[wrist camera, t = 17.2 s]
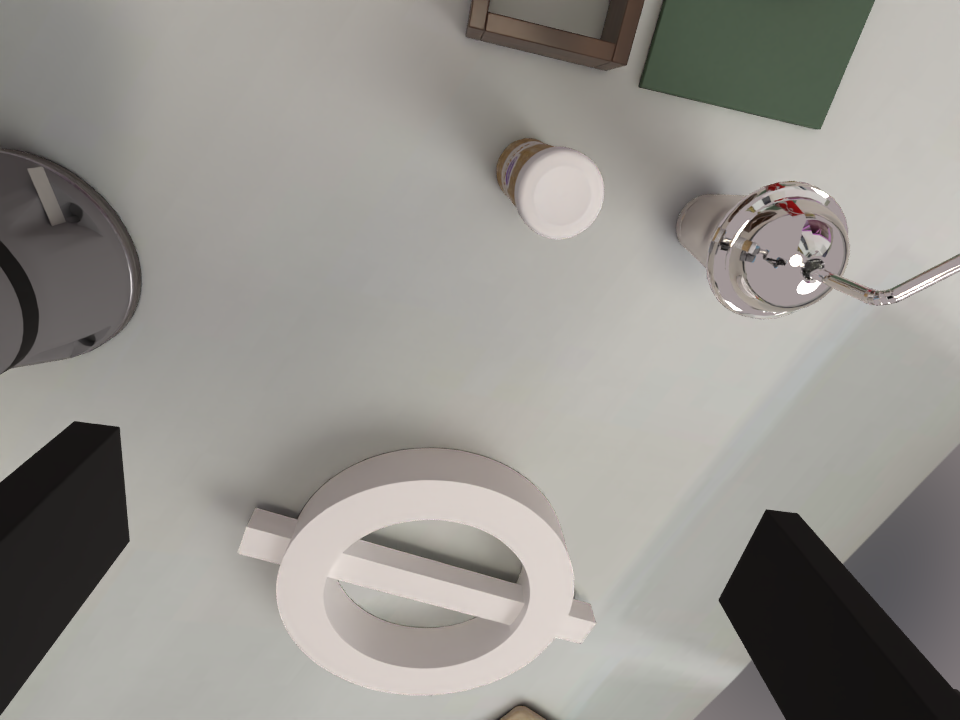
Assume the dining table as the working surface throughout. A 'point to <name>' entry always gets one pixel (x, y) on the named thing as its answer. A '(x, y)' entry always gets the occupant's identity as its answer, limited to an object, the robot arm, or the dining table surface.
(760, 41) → the rubber mat
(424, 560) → the ring with crossbar
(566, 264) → the dining table surface
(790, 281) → the cup with straw
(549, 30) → the can holder
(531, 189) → the sprinkles bottle
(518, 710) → the wooden puzzle
